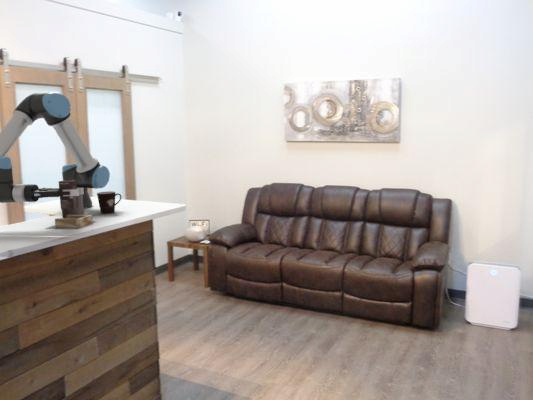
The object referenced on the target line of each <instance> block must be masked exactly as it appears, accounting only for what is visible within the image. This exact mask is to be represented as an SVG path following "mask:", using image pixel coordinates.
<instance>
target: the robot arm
mask: <svg viewBox="0 0 533 400" xmlns="http://www.w3.org/2000/svg"><path fill="white" fill-rule="evenodd" d="M71 109H72V108H71V102H70V100H69V98H68V97H67V95H65V94H63V93H61V92H58V91H48V92H36V93H35V92H34V93H31V94H30V95H28V96H26V97H25V98H24V99H22V101H20V103H19V104H18V105H17V106H16V107H15V109H14V110H13V111H12V117H11V118H9V121H8V122H7V123H6V124H5V125H4V127H3V128H2V129H1V131H0V203H1V204H3V203H4V204H6V203H19V204H23V203H35V202H37V201H39V199H43V198H59V199H60V198H63V197H62V195H63V196H79V194H82V195H83V207H84V209H86V208H87V209H88V208H91V207H93V201H92V199H91V196H90V194H89V189H95V190H96V189H104V188H105V187H106V186H107V185H108V183H109V181H110V176H111V175H110V174H111V173H110V170H109V168H108V167H107V166H105V165H101V163H100V162H99V160H98V159H97V158H94V157H93V156H92V154H91V152H90V151H89V149H88V147H87V146H86V144H85V142H84V140H83V139H82V136H80V133H79V132H78V130H77V129H76V127H75V125H74V123H73V122H72V120H71V116H72V113H71ZM39 119H44V121H45V123H46V124H47V126H49V127H52V128H53V129H54V130H55V132H56V134H57V136H58V137H59V139H60V141H61V142H62V144H63V145H64V147H65V149H66V150H67V152H68V154H69V155H70V157H71V158H72V160H73V162H74V163H71V164H64V165H63V166H62V168H61V174H62V176H61V177H62V181H67V180H76V186H77V189H72V190H63V191H62V190H59V187H53V188H52V187H39V186H38V185H37V184H35V183H33V184H31V183H29V184H25V183H24V184H23V183H21V184H19V183H18V184H14V175H13V165H12V164H13V163H12V159H11V157H9V156H7V155H8V153H9V152H10V151H11V149H12V148H13V146H14V145H15V144H16V142H18V140H19V139H20V137H21V136H22V135H23V133H24V132H25V130H26V129H27V128H28V126H32V125H33V123H34V122H35V121H37V120H39Z"/></svg>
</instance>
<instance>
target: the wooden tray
mask: <svg viewBox="0 0 533 400" xmlns="http://www.w3.org/2000/svg"><path fill="white" fill-rule="evenodd" d="M66 216H67V218H63V217H62V218H61V217H60V218H57V217H56V218H54V224H55V226H56V227H78V228H79V229H81V228H80V227H82V228H84V227H86V225H87V226H89V224H90V225H92V224H94V223H93V221H94V219H93V214H84V215H66ZM91 223H92V224H91ZM83 226H84V227H83Z"/></svg>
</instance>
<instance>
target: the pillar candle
mask: <svg viewBox="0 0 533 400" xmlns="http://www.w3.org/2000/svg"><path fill="white" fill-rule="evenodd" d="M77 199H78V208H76V209H61V216H62V218H67V216H66V215H85V210H84V209H85V208H84V207H83V195H82V194H79V196H77Z"/></svg>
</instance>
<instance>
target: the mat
mask: <svg viewBox="0 0 533 400" xmlns="http://www.w3.org/2000/svg"><path fill="white" fill-rule="evenodd" d="M95 223H98V221H95V220H93V223H91V224H89V225H93V224H95ZM89 225H86V226H89ZM86 226H83V227H80V228H78V227H56V226H55V225H51V226H49V227H45V228H44V229H45V230H79V229H81V228H84V227H86Z"/></svg>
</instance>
